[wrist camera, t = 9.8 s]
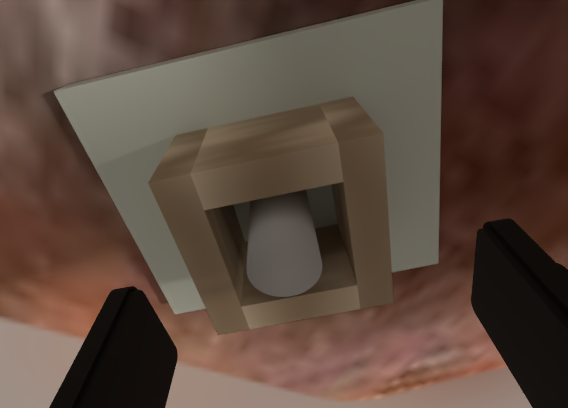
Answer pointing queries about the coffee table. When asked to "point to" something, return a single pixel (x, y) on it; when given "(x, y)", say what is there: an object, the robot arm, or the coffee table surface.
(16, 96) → the coffee table surface
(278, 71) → the post block
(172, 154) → the ring
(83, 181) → the coffee table surface
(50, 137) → the coffee table surface
